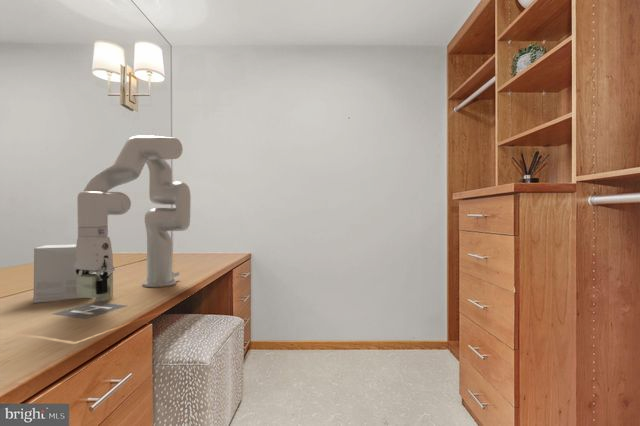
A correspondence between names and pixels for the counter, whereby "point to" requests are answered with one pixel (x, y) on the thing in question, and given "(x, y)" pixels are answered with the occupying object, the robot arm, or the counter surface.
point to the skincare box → (107, 296)
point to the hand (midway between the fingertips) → (93, 291)
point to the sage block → (89, 285)
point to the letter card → (90, 310)
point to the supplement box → (55, 273)
